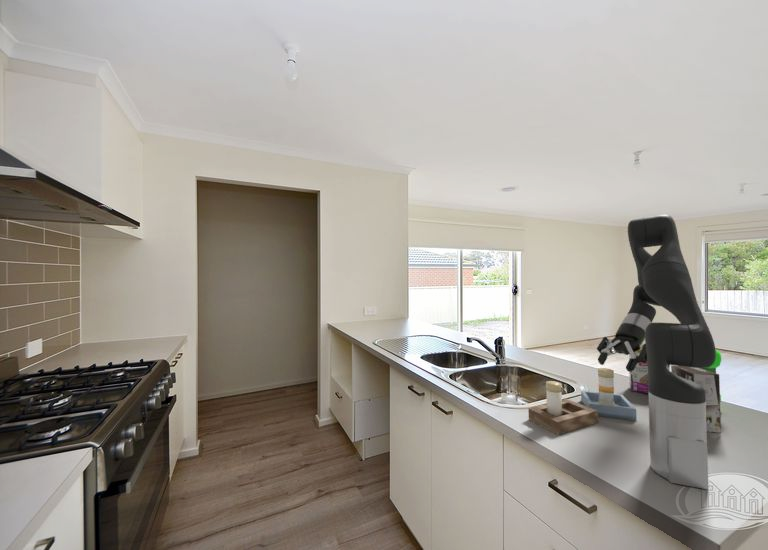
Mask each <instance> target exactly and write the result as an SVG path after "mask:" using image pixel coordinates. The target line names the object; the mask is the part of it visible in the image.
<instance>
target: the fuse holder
mask: <svg viewBox="0 0 768 550" xmlns="http://www.w3.org/2000/svg"><path fill="white" fill-rule="evenodd" d="M598 418H599V416H598V411H597V410H594V409H592V408H589V407H587V406H584V404H582V403H578V402H576V401H573V400H570V399H568V398H565V399H562V416H559V417H555V416H552V415H550V414H548V413H547V403H544V404H540V405H537V406H536V405H535V406H532V407H528V421H530V420H531V422H532V421H533V422H532V423H534V422H535V424H536V423H537V425H538V424H539V426H540V425H541V426H540V427H542V426H543V427H542V428H544V427H545V428H544V429H546V430H548V431H550V432H552V433H554V434H556V435H557V436H558V435H562V434H565V433H568V432H571V431H574V430H578V429H581V428H585V427H588V426H591V425H593V424H597V423H599V419H598Z"/></svg>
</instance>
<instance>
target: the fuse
mask: <svg viewBox="0 0 768 550" xmlns="http://www.w3.org/2000/svg"><path fill="white" fill-rule="evenodd" d="M545 390H546V391H545V392H546V404H547V413H548V414H550V415H552V416H555V417H559V416H562V400H563V399H562V397H563V395H562V393H563V384H562V383H561V382H559V381H556V380H555V381H554V380H547V381H546V382H545Z"/></svg>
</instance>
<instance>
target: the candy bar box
mask: <svg viewBox="0 0 768 550" xmlns="http://www.w3.org/2000/svg"><path fill="white" fill-rule="evenodd" d="M640 352H641V348H640V349H639V350H637V351H635V353H636V355H637V357H638V356H639V355H640ZM630 359H632V358H631V355H630V354H628V361H629V360H630ZM670 367H671V365H667V366H666V368H667V370H669V371H670V372H671V368H670ZM628 374H629V375H628V376H629V388H630V391H631V392H638V393H641V394H642V393H644V394H649V391H648V363H647V362H646V363H642V362H639V363H637V365H636V367H635V369H634V370H633V371H631V372H629V371H628Z"/></svg>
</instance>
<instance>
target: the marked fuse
mask: <svg viewBox="0 0 768 550" xmlns="http://www.w3.org/2000/svg"><path fill="white" fill-rule="evenodd" d="M614 372H615V371H614V369H611V368H606V367H598V368H597V376H598V378H597V379H598V381H597V382H598V383H597V384H598V386H597V387H598V392H599V404H606V405H614V394H615V388H614V387H615V386H614V385H615V384H614V383H615V382H614V377H615V376H614Z"/></svg>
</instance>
